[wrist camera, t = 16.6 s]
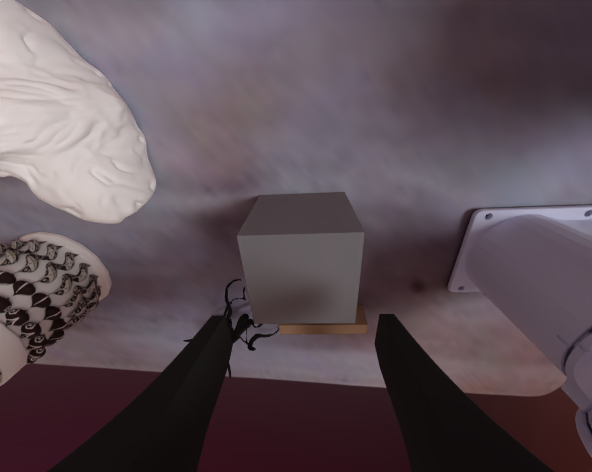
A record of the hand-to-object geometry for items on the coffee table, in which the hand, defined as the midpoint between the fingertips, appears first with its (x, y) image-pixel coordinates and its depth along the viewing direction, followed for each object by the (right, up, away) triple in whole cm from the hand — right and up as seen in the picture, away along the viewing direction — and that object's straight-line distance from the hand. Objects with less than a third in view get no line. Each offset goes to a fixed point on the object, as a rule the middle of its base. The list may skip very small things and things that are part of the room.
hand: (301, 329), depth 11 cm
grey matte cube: (0, +5, +8) cm, 9 cm away
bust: (-14, +12, +5) cm, 19 cm away
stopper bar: (+2, -3, +12) cm, 13 cm away
